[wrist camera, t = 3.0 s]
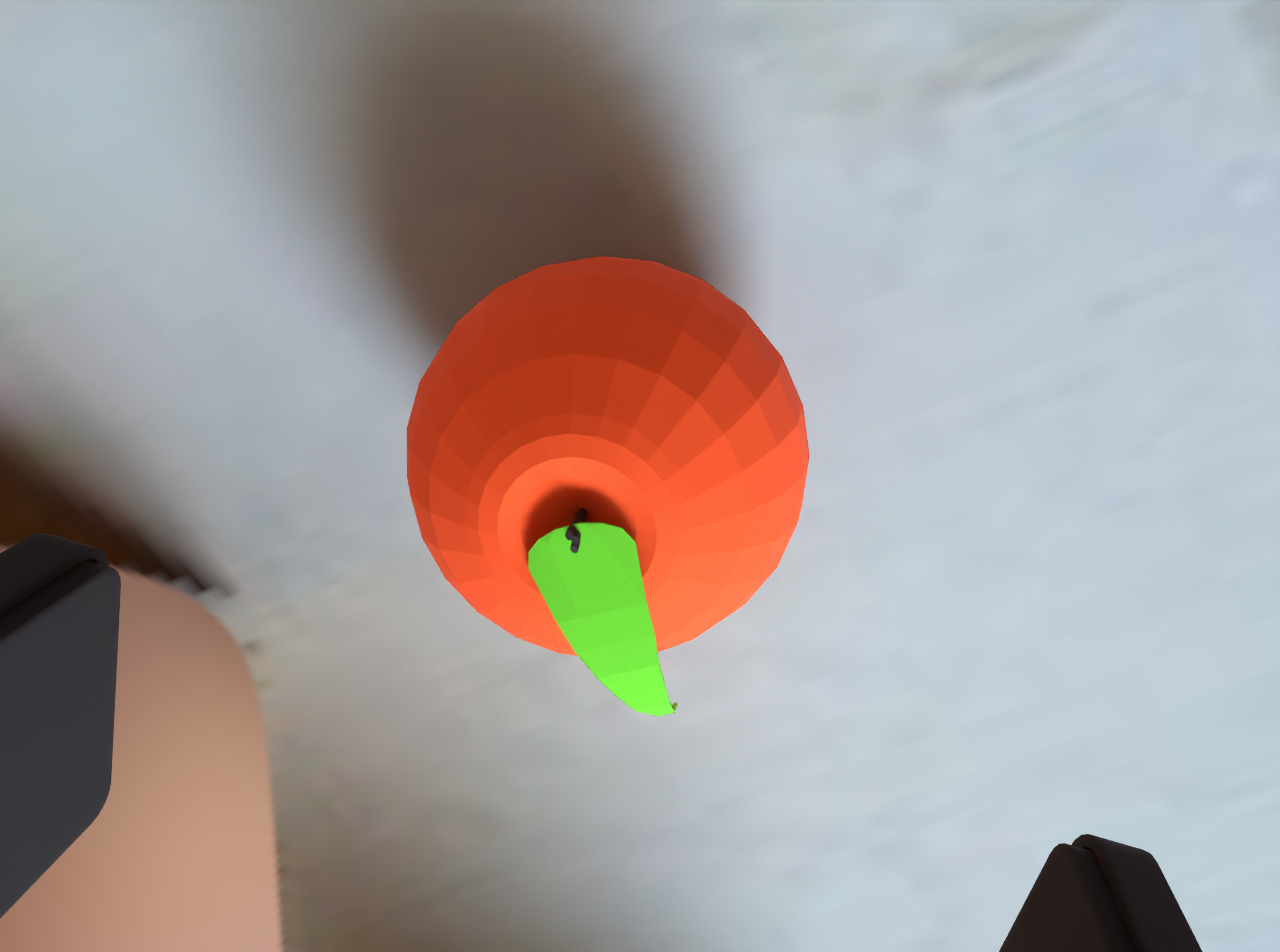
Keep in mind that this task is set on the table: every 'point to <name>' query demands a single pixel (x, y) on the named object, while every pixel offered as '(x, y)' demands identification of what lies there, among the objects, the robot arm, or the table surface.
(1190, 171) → the table surface
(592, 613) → the clementine
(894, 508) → the table surface
